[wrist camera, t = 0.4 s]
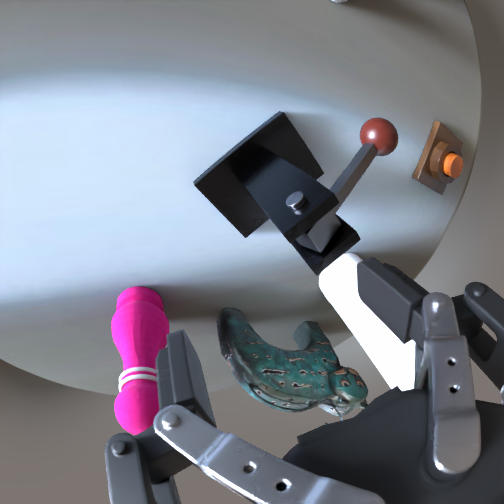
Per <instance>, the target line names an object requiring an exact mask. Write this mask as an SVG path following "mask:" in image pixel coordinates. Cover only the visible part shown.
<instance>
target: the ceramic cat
mask: <svg viewBox="0 0 504 504" xmlns="http://www.w3.org/2000/svg"><path fill="white" fill-rule="evenodd" d="M217 329H218V337H219V342H220V348H221V353H222V355H223V357H224V358H225V360H226V361H227V363H228V365H229V367H230V369H231V371H232V373H233V375H234V376H235V378H236V379H237V381H238V382H239V384H240V385H241V386H242V387H243V389H244V390H246V391H247V392H248V393H249V394H250V395H251V396H253V397H254V398H256V399H257V400H259V401H261V402H263V403H264V404H265V405H267V406H269V407H271V408H274V409H277V410H280V411H286V412H302V411H305V410H308V409H311V408H314V407H316V406H319V407H321V408H322V409H324V410H325V411H327V412H329V413H331V414H333V415H336V416H339V417H340V418H341V421H343V419H342V417H341V416H344V415H346V414H347V413H349V412H350V411H351V410H353V409H354V408H365V407H367V406H368V404H367V402H366V397H367V394H368V389H367V386H366V384H365V383H364V381H363V380H362V378H361V377H360V376H359V374H358V372H357V371H355V370H354V369H351V368H348V367H347V368H346V367H343V366H340V363H339V360H338V357H337V356H336V354H335V352H334V350H333V349H332V347H331V344H330V341H329V340H328V338H327V337H326V336H325V334H324V333H323V332H322V330H321V329H320V327H319V325H318V324H317V323H314V322H308V321H306V322H304V323H302V324H301V325H300V326H299V327H298V329H297V330H296V332H295V333H294V334H293V338H294V339H295V341H296V342H297V344H298V347H299V350H296V351H289V350H282V349H280V348H277V347H274V346H272V345H270V344H268V343H266V342H265V341H264V340H262V339H261V338H260V337H259V335H258V334H257V333H256V332H255V331H254V330H253V328H252V327H251V326H250V324H249V323H248V322H247V320H246V319H245V317H244V316H243V315H242V313H241V311H240V310H237V309H235V308H224V309H223V311H222V313H221V315H220V317H219V318H218V319H217ZM326 424H327V423H325V425H326Z"/></svg>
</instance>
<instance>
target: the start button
mask: <svg viewBox="0 0 504 504" xmlns="http://www.w3.org/2000/svg"><path fill="white" fill-rule="evenodd" d="M442 169H443V172H444V173H445V174H446V175H448V176H450V177H452V178H457V177H458V176H459V175H460V174H461V172H462V169H463V160H462V158H461V157H460V156H458V155H456V154H453V153H448V154H447V155H446V156H445V159H444V161H443V168H442Z"/></svg>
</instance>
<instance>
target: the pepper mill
mask: <svg viewBox="0 0 504 504" xmlns="http://www.w3.org/2000/svg"><path fill="white" fill-rule="evenodd" d="M111 326H112V335H113V339H114V342H115V344H116V346H117V348H118V350H119V352H120V354H121V356H122V359H123V362H124V372H123V373H122V374H121V375H120V377H119V383H120V384H119V390H120V393H119V394H118V396H117V398H116V400H115V408H114V409H115V414H116V417H117V420H118V422H119V423H120V424H121V426H122V427H123V428H124V429H125V430H126V431H128V432H130V433H131V434H133V435H137V434H139V433H141V432H143V431H144V430H146V429H148V428H149V427H151V426H152V425H153V422H154V418H155V416H156V415H157V413H158V412H159V399H158V388H157V376H156V372H157V371H156V361H155V360H156V357H157V355H158V352H159V350H160V349H164V348H165V346H166V344H167V334H169V321H168V319H167V317H166V315H165V314H164V307H163V301H162V298H161V297H160V296H159V294H158V293H156V292H155V291H154V290H152V289H149V288H146V287H132V288H129V289H127V290H125V291H124V292H122V293H121V295H120V296H119V298H118V301H117V310H116V313H115V314H114V316H113V318H112V323H111Z"/></svg>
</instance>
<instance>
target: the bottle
mask: <svg viewBox="0 0 504 504" xmlns="http://www.w3.org/2000/svg"><path fill="white" fill-rule="evenodd" d="M361 261H363V260H362V259H360V258H359V257H358V256H357V255H355V254H353V253H345V254H343V255H342V256H340V257H339V258H338V259H337V260H336V261H334V262H333V263H332V264H331V265H330V266H328V267H327V268H326V269H325V270H323V271H322V273H321V275H320V277H319V286H320V289H321V291H322V292H323V294H324V296H325V297H326V299H327V300H328V301H329V303H331V304H332V306H333V307H334V309H335V310H336V311H337V313H338V314H339V315H340V317H341V318H342V320H343V321H344V322H345V324H346V325H347V326H348V328H349V329H350V331H351V332H352V333H353V335H354V336H355V338H356V339H357V340H358V342H359V343H360V345H361V346H362V347H363V349H364V350H365V352H366V353H367V355H368V356H369V357H370V359H371V360H372V362H373V363H374V364H375V366H376V367H377V369H378V370H379V372H380V373H381V375H382V376H383V377H384V379H385V380H386V382H387V383H388V385H389V386H390V388H391V389H392V388H394V387H396V386H398V387H399V388H400V389H401V391H404V390H408V389H413V386H414V345H415V342H414V341H413V340H411V341H409V342H407V343H406V344H403V343H402V342H401V341H400V340H399V339H398V338H397V337H396V336H395V335H394V334H393V333H392V331H391V330H390V329H389V328H388V327H387V326H386V325H385V324H384V323H383V322H382V321H381V320H380V319H379V318H378V317H377V316H376V315H375V314H374V313H373V312H372V311H371V310H370V309H369V308H368V307H367V306H366V305H365V304H364V303H363V302H362V301H361V299H360V297H359V295H358V291H357V264H358V263H359V262H361Z"/></svg>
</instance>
